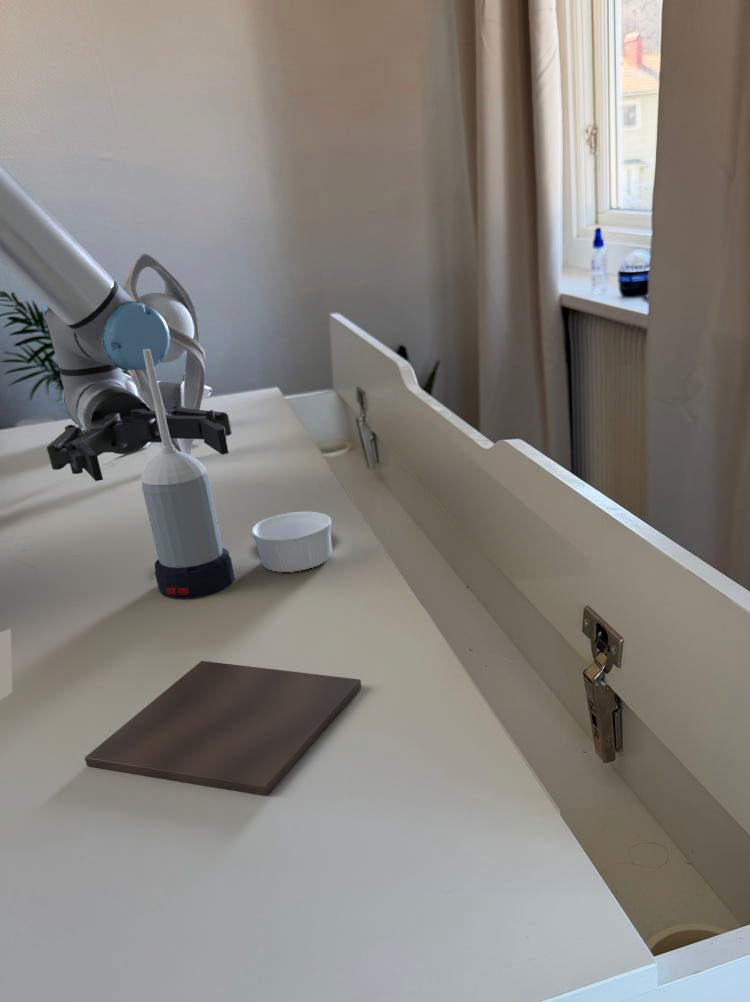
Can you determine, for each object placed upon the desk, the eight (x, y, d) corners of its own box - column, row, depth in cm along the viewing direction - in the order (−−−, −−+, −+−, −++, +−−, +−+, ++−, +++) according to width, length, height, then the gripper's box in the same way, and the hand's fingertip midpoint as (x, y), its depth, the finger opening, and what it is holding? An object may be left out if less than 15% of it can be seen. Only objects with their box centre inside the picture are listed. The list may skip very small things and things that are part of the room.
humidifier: (164, 605, 102) (107, 361, 91) (154, 578, 109) (99, 349, 97) (241, 588, 105) (195, 349, 93) (227, 563, 112) (182, 338, 100)
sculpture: (231, 447, 156) (194, 246, 143) (216, 468, 146) (175, 254, 133) (159, 452, 156) (115, 252, 143) (139, 473, 146) (89, 261, 133)
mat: (86, 766, 76) (84, 757, 75) (203, 668, 89) (201, 660, 88) (266, 796, 70) (265, 786, 70) (361, 687, 84) (360, 679, 83)
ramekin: (255, 580, 106) (248, 543, 104) (259, 550, 114) (252, 515, 112) (337, 570, 107) (331, 533, 105) (335, 541, 115) (330, 506, 113)
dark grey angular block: (130, 438, 166) (116, 381, 161) (139, 430, 170) (126, 374, 166) (215, 432, 165) (204, 375, 161) (222, 424, 170) (212, 368, 166)
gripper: (219, 428, 128) (277, 464, 111) (17, 469, 117) (48, 514, 101) (208, 370, 124) (266, 398, 108) (-1, 406, 114) (28, 443, 97)
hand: (161, 454), depth 104 cm, fingers open, 13 cm apart
